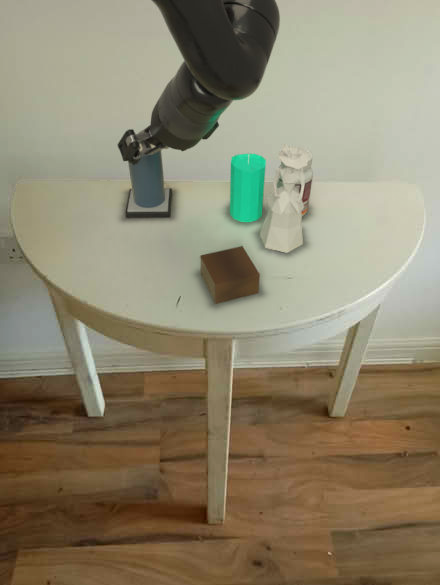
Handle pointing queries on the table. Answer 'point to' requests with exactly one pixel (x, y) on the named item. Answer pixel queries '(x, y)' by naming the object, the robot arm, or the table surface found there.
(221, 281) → the block
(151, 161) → the canister
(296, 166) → the figurine
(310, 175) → the pill bottle
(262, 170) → the candle
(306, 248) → the table surface
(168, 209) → the scale
